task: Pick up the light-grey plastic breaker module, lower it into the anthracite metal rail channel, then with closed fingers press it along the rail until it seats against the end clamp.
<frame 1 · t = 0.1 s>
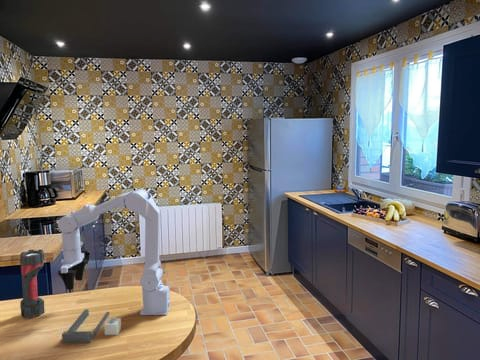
hand: (74, 284, 133), 10 cm above the table, fingers open, 7 cm apart
flashlight: (37, 314, 133), on the table
rail: (88, 326, 124), on the table
module: (113, 331, 121), on the table
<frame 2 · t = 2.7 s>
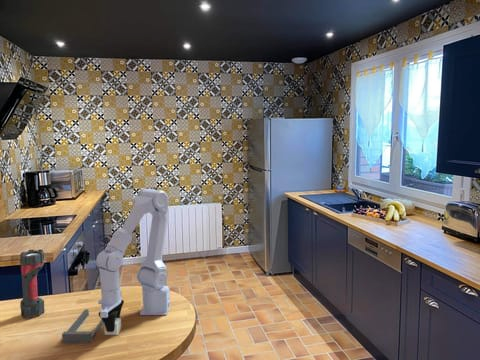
hand: (112, 327, 121), 1 cm above the table, fingers closed on module, 4 cm apart
module: (113, 331, 121), on the table, touching gripper
everything else where it was.
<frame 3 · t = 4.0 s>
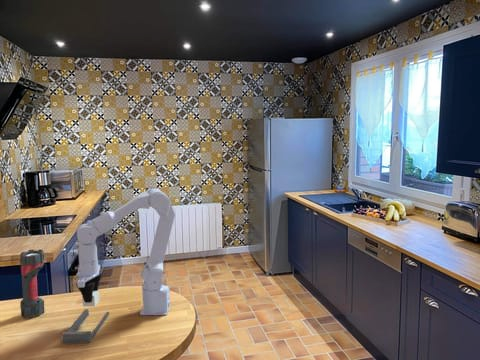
hand: (90, 298, 126), 8 cm above the table, fingers closed on module, 4 cm apart
module: (91, 303, 126), point 7 cm above the table, touching gripper
everything else where it was.
when the fingers open (3 cm above the table, at t = 5.4 s): module drops 1 cm, resting in rail.
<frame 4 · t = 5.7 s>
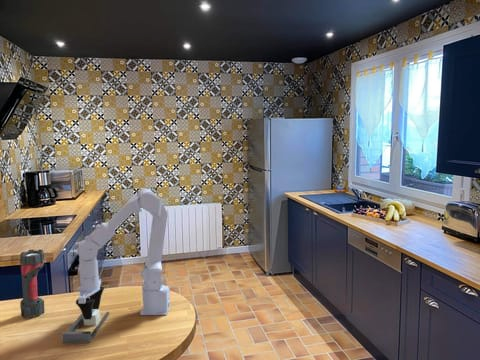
hand: (91, 313, 126), 3 cm above the table, fingers open, 6 cm apart
module: (92, 322, 127), resting in rail
everything else where it was.
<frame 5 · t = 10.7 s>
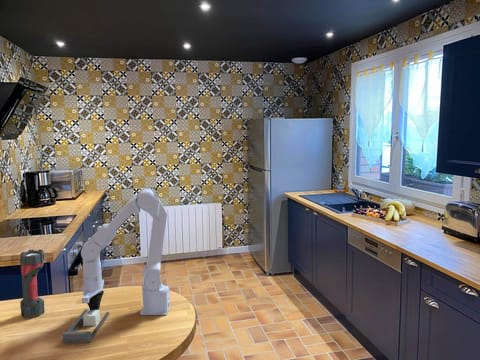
hand: (95, 313, 129), 2 cm above the table, fingers closed
module: (92, 322, 126), resting in rail, touching gripper
everything else where it was.
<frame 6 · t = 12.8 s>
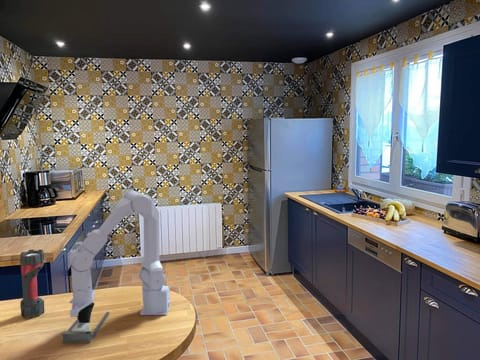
hand: (85, 326, 121), 2 cm above the table, fingers closed
module: (81, 336, 118), resting in rail, touching gripper
everything else where it was.
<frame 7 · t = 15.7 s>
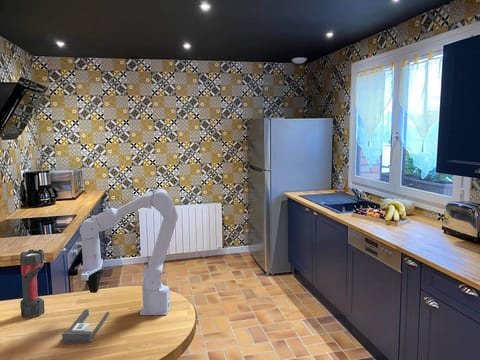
hand: (94, 292, 128), 9 cm above the table, fingers closed
module: (81, 337, 118), resting in rail
everything else where it was.
at the end: module 0.8 cm from the target spot on the rail, point 0.0 cm above the rail's base; module tilted 0° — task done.
